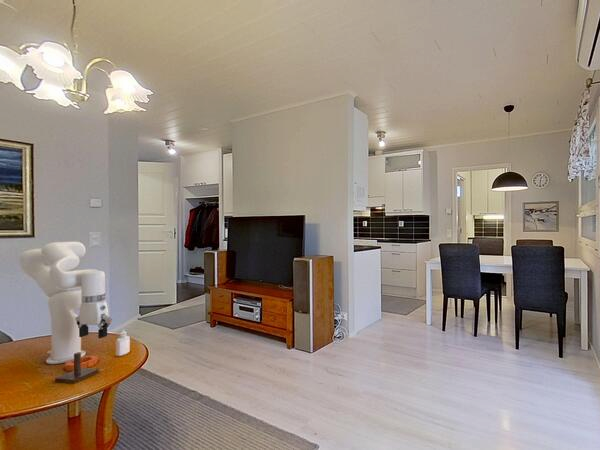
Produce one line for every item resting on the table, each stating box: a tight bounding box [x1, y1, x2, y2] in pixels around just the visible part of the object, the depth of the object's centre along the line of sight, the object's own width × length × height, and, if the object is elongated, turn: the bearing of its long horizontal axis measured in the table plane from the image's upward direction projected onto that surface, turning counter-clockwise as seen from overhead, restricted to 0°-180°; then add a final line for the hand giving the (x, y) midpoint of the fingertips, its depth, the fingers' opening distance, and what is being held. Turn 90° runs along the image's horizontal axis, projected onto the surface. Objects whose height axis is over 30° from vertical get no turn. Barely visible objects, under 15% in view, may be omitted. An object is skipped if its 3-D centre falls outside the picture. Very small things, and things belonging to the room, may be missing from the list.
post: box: [54, 352, 100, 384], centre depth 127 cm, size 9×9×10 cm
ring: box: [64, 354, 99, 372], centre depth 137 cm, size 10×10×2 cm
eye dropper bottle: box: [115, 329, 131, 357], centre depth 150 cm, size 4×6×12 cm
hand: (93, 336), depth 137 cm, fingers open, 9 cm apart
